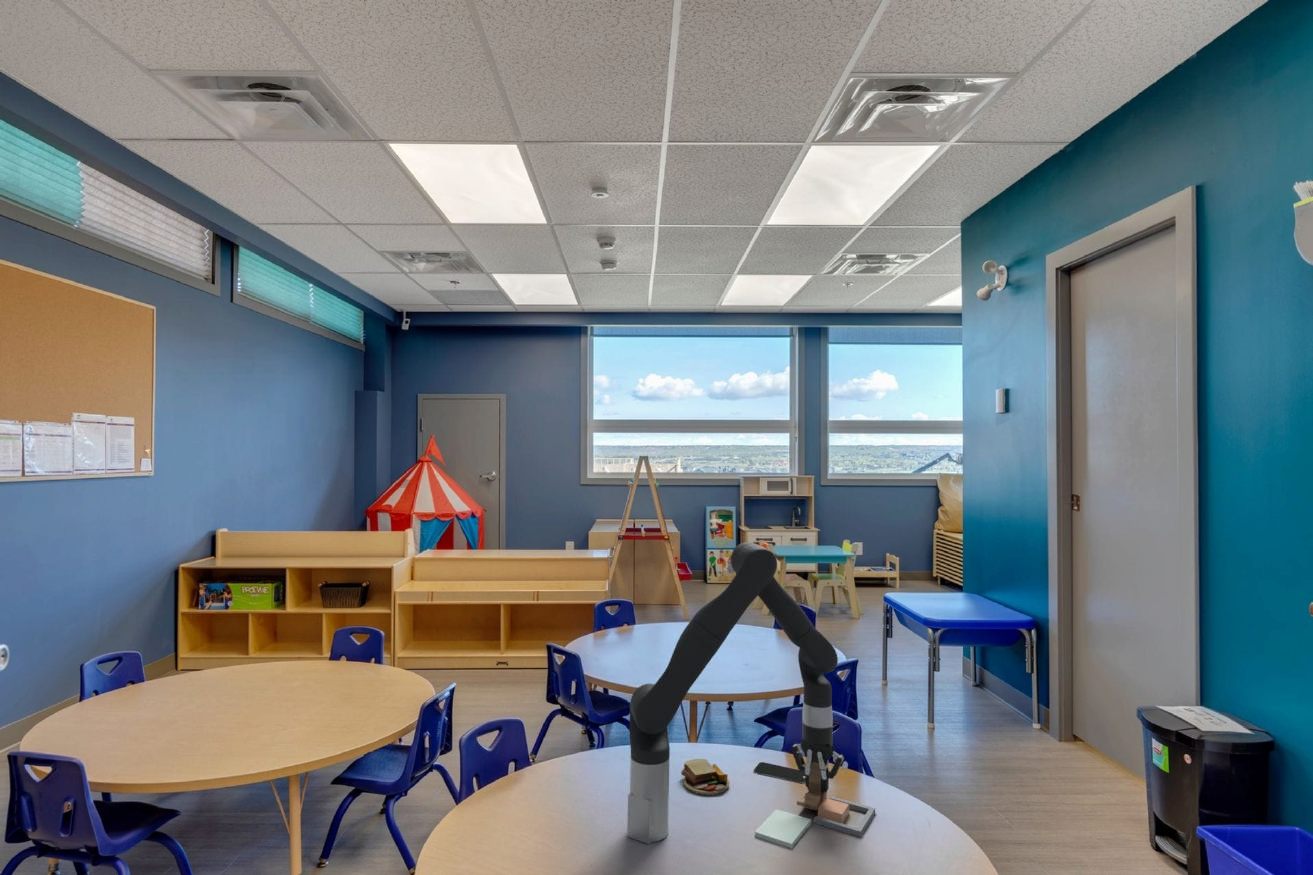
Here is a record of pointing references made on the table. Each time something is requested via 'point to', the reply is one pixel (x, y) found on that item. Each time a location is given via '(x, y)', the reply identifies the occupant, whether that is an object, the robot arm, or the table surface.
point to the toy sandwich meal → (704, 777)
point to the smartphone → (780, 772)
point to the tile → (833, 810)
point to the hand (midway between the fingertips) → (816, 790)
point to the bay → (847, 828)
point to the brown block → (813, 789)
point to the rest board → (783, 828)
